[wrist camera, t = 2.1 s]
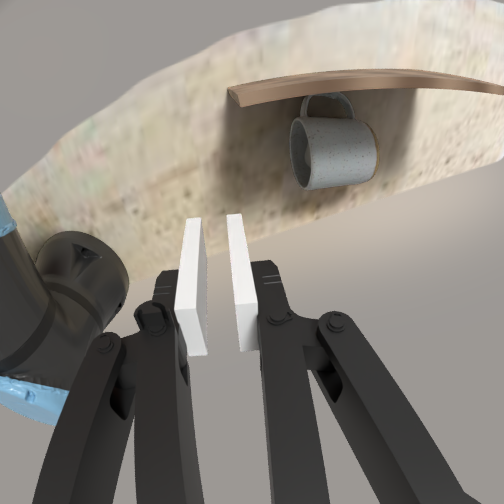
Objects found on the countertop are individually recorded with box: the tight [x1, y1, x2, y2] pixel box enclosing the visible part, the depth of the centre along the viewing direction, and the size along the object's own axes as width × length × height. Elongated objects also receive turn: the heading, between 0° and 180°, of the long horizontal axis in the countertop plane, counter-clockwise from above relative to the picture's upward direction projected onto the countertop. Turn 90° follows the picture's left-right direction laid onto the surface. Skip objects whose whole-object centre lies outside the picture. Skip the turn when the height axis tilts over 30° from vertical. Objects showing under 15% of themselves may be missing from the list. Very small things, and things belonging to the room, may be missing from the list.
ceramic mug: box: [289, 92, 380, 190], centre depth 27 cm, size 11×8×8 cm
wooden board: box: [228, 69, 504, 107], centre depth 21 cm, size 24×1×15 cm, turn 102°
